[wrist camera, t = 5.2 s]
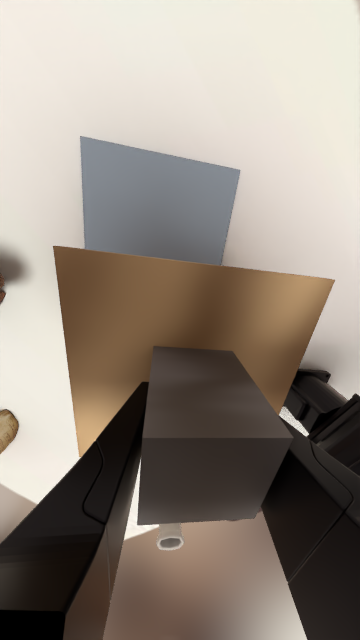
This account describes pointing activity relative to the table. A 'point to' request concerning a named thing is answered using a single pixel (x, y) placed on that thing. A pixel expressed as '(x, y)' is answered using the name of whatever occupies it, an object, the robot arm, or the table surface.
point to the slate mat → (155, 203)
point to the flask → (170, 536)
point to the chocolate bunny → (7, 429)
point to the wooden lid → (188, 371)
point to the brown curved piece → (0, 284)
